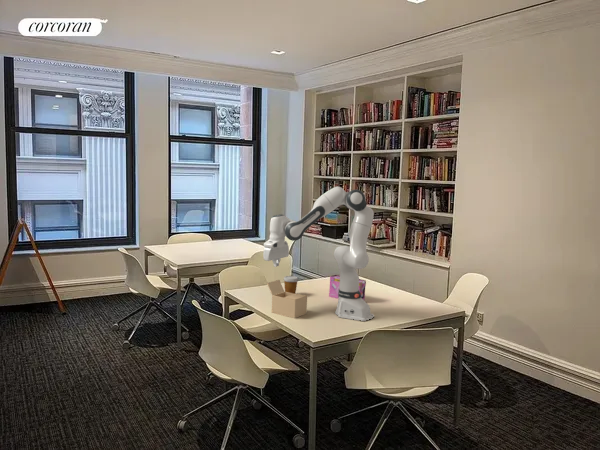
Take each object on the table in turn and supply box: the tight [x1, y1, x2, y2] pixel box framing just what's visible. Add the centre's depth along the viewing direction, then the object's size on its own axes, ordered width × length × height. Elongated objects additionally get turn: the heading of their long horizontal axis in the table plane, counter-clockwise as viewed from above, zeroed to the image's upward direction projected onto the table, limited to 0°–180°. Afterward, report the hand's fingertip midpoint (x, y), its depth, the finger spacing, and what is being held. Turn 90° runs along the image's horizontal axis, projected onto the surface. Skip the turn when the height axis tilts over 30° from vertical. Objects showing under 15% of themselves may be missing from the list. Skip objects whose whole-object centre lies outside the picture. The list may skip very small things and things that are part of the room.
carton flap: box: [266, 279, 285, 296], centre depth 288 cm, size 8×11×1 cm
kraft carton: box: [271, 291, 308, 319], centre depth 283 cm, size 16×12×10 cm
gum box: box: [328, 274, 367, 302], centre depth 320 cm, size 24×8×14 cm, turn 55°
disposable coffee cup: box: [283, 275, 299, 294], centre depth 322 cm, size 10×10×12 cm
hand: (276, 266), depth 287 cm, fingers closed
